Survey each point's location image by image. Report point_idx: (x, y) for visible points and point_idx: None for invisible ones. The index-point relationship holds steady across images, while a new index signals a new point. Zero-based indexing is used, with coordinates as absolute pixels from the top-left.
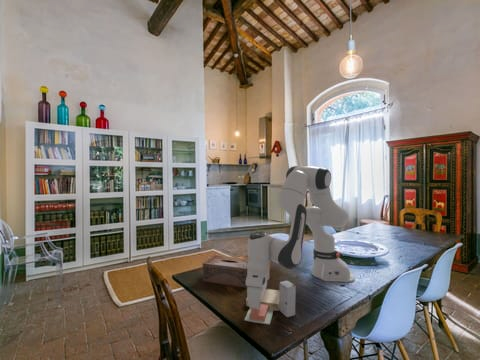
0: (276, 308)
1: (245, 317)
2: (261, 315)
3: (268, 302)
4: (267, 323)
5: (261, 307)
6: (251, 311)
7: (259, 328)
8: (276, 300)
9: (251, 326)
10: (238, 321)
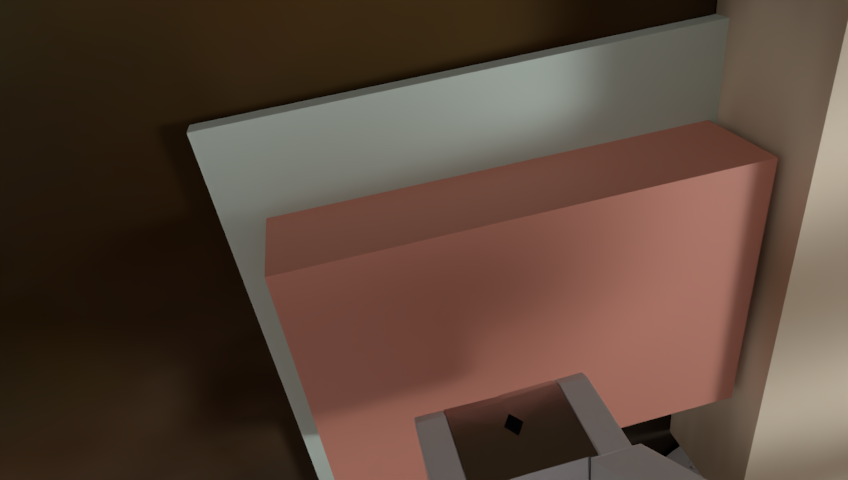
0: (692, 440)
1: (271, 117)
2: (345, 462)
3: (764, 411)
4: (317, 469)
5: (603, 354)
6: (385, 266)
7: (152, 427)
8: (836, 466)
9: (110, 317)
10: (68, 10)
